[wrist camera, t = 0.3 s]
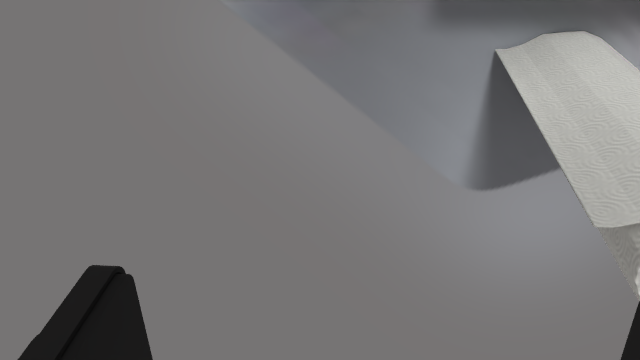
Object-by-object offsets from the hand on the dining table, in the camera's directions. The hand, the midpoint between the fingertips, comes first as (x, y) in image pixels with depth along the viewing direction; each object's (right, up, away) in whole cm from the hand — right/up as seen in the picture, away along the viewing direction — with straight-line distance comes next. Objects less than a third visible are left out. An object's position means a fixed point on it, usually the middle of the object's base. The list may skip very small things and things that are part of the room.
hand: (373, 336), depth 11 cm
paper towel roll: (+15, +11, +28) cm, 33 cm away
